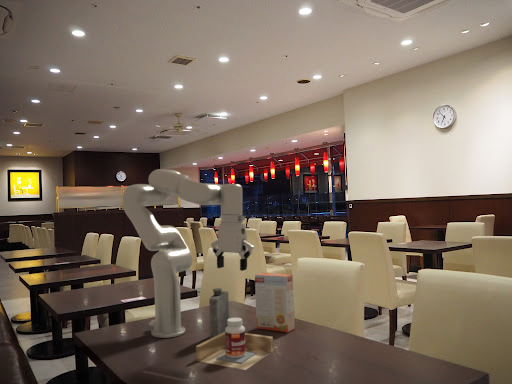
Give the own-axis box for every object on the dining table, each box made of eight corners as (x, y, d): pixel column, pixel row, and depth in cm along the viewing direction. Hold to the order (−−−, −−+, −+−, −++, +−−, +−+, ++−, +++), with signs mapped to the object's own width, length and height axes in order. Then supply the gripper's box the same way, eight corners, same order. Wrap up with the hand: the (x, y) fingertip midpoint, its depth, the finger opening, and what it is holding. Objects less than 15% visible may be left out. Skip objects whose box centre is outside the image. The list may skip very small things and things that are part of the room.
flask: (207, 345, 145) (205, 292, 145) (221, 332, 158) (219, 284, 159) (217, 345, 144) (215, 292, 144) (230, 333, 158) (229, 284, 158)
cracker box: (295, 329, 160) (293, 273, 161) (288, 333, 155) (286, 276, 156) (264, 324, 168) (262, 271, 168) (256, 328, 162) (254, 274, 163)
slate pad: (216, 359, 129) (216, 358, 129) (232, 350, 137) (232, 348, 137) (241, 363, 125) (241, 362, 125) (256, 354, 133) (256, 352, 133)
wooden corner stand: (196, 362, 129) (195, 346, 129) (227, 345, 144) (227, 330, 144) (245, 372, 120) (245, 354, 120) (273, 352, 135) (272, 336, 136)
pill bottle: (231, 360, 127) (230, 323, 127) (222, 354, 132) (221, 319, 132) (249, 355, 130) (248, 319, 131) (239, 350, 136) (238, 315, 136)
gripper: (258, 219, 145) (258, 269, 145) (218, 218, 154) (218, 265, 154) (246, 220, 139) (246, 272, 138) (205, 219, 148) (205, 268, 148)
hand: (231, 268), depth 146 cm, fingers open, 9 cm apart
